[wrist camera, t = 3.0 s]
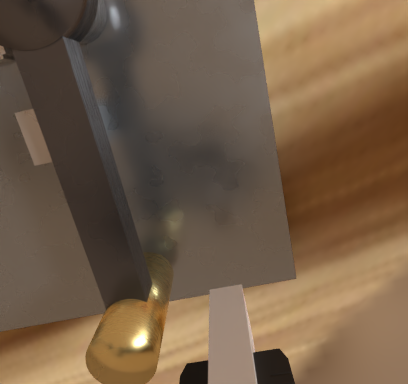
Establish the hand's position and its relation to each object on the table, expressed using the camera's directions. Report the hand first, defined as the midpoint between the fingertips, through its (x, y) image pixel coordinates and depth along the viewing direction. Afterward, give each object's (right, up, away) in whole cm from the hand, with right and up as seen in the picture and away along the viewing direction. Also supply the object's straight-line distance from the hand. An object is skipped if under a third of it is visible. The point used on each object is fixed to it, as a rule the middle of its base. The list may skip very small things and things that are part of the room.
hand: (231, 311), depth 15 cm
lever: (-6, +8, +3) cm, 11 cm away
